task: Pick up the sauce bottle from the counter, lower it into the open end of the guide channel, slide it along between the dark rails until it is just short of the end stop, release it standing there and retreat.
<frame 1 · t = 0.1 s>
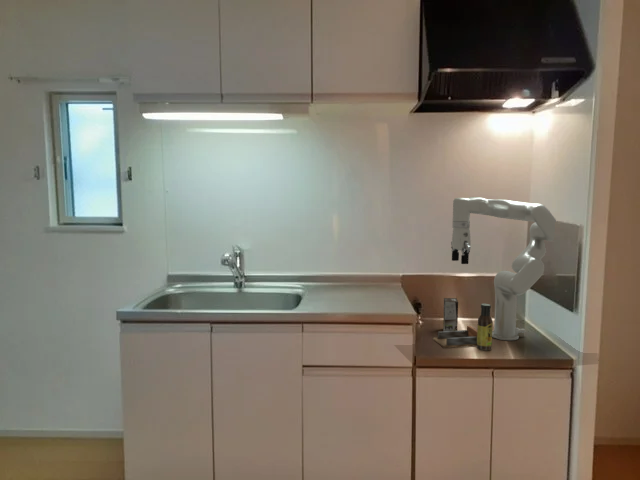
hand: (459, 262, 218), 37 cm above the worktop, tool pointing down, fingers open, 9 cm apart
coffee box: (450, 332, 234), on the worktop
channel: (457, 342, 218), on the worktop
sauce bottle: (484, 349, 209), on the worktop
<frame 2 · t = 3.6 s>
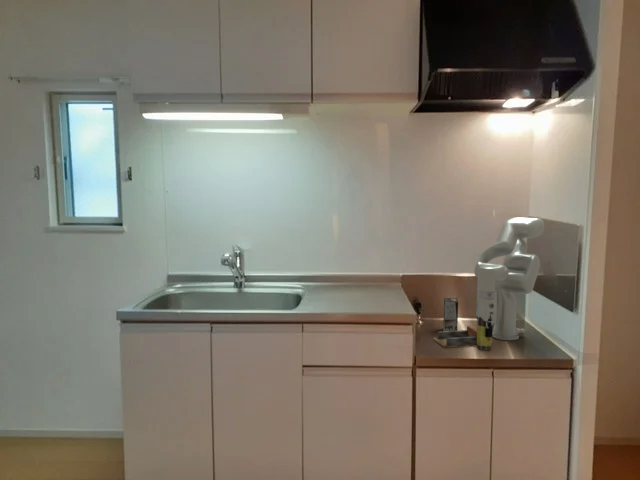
hand: (484, 334, 209), 7 cm above the worktop, tool pointing down, fingers closed on sauce bottle, 6 cm apart
sauce bottle: (484, 349, 209), on the worktop, touching gripper
everything else where it was.
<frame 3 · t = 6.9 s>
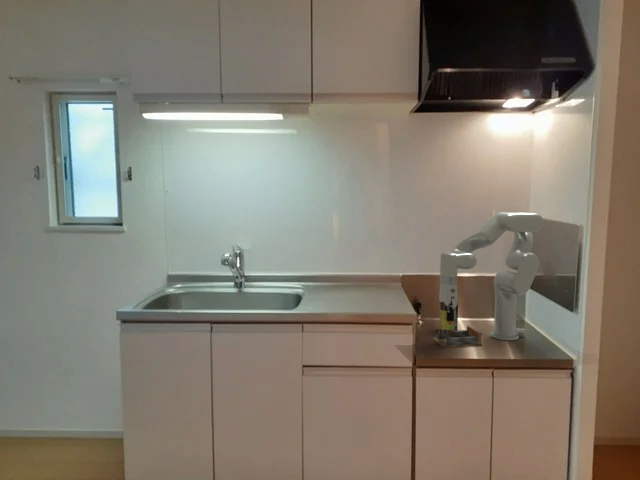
hand: (446, 318, 216), 12 cm above the worktop, tool pointing down, fingers closed on sauce bottle, 6 cm apart
sauce bottle: (446, 333, 216), point 5 cm above the worktop, touching gripper
everything else where it was.
when the fingers open (8 cm above the worktop, at t = 10.2 s): sauce bottle stays where it is, resting on channel.
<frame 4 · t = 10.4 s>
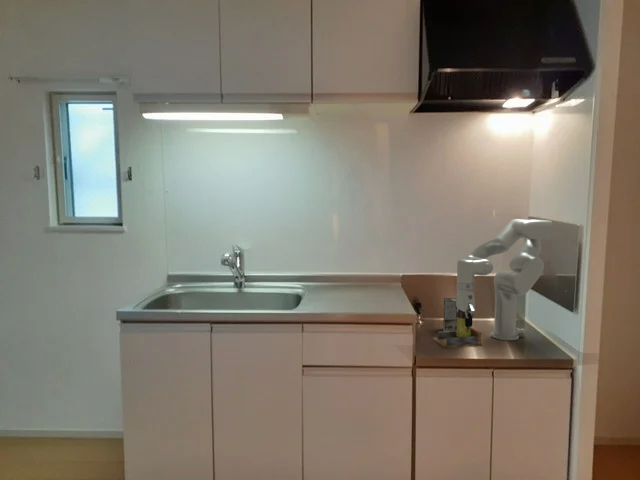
hand: (464, 323, 217), 9 cm above the worktop, tool pointing down, fingers open, 8 cm apart
sauce bottle: (463, 340, 219), point 1 cm above the worktop, touching channel
everything else where it was.
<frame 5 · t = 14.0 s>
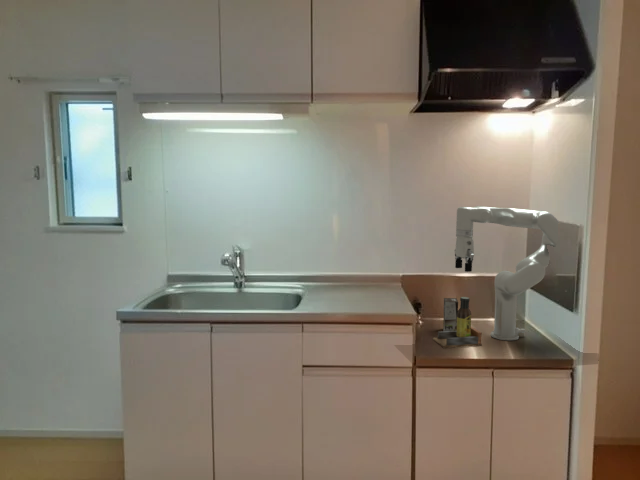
hand: (463, 269, 223), 32 cm above the worktop, tool pointing down, fingers open, 9 cm apart
nothing on the worktop moved.
at the end: sauce bottle 0.8 cm from the target spot on the channel, point 0.6 cm above the channel's base; sauce bottle tilted 0°; the gripper is holding nothing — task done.
